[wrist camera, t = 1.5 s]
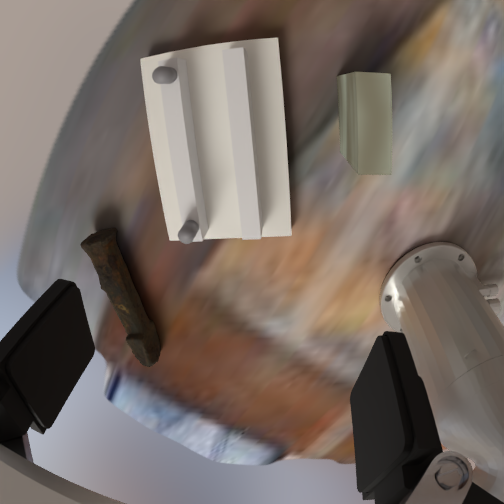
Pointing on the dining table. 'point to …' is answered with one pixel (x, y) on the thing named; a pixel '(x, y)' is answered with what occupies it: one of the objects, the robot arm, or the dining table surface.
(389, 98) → the rectangular block
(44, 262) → the dining table surface
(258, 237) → the slider channel
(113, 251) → the hand tool
